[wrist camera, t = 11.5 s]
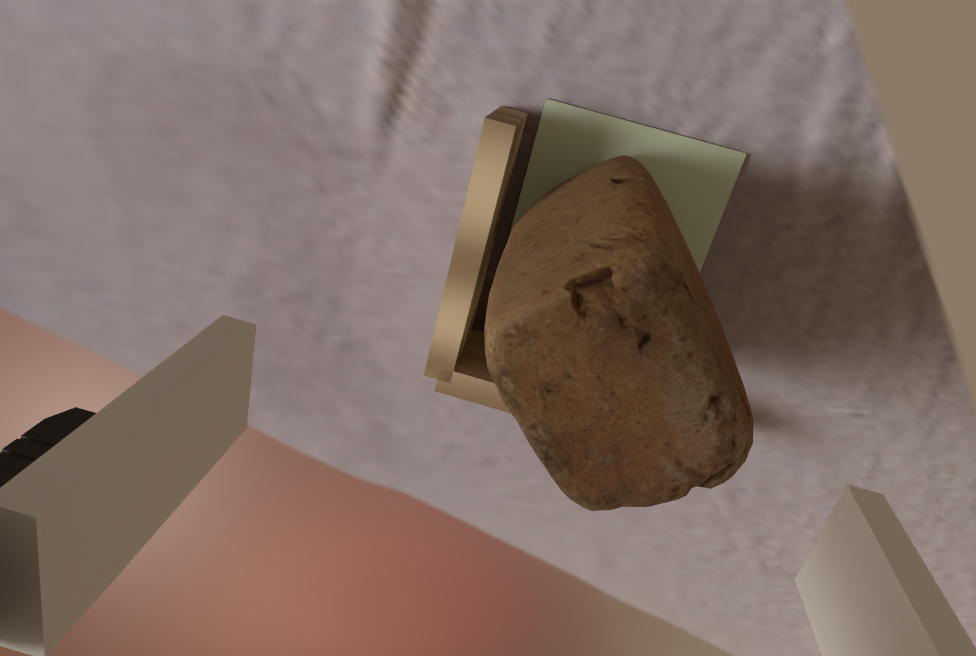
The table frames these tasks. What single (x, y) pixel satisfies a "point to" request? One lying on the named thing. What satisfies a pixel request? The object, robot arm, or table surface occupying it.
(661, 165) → the pad
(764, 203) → the table surface
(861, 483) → the table surface
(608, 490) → the brown sandstone rock
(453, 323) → the wooden l-shaped piece
